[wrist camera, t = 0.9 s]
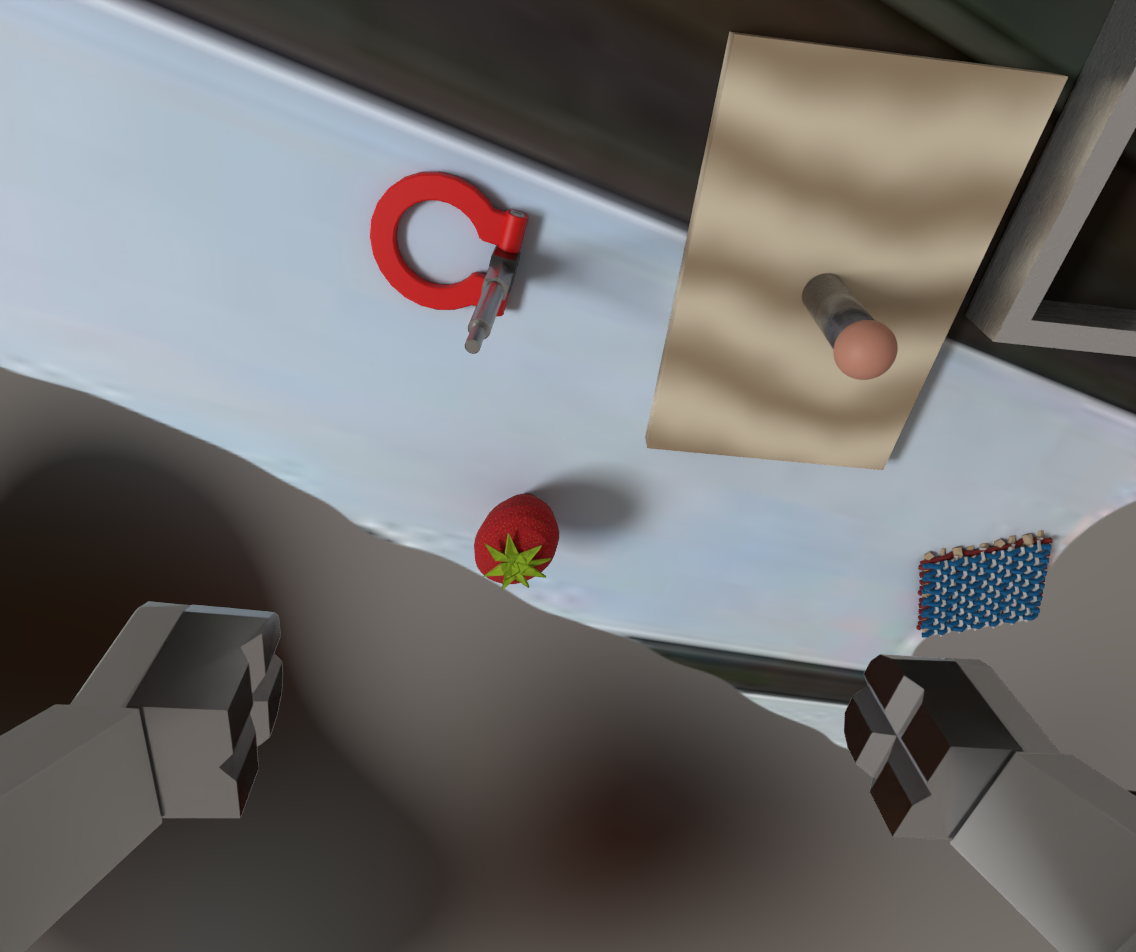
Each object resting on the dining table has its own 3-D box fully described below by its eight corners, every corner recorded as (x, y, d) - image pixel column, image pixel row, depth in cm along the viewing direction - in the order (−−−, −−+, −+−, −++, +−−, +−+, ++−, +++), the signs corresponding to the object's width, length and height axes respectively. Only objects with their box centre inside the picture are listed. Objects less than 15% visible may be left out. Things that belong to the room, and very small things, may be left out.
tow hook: (367, 282, 46) (502, 322, 47) (294, 371, 35) (470, 421, 36) (384, 150, 41) (534, 199, 42) (305, 208, 30) (508, 271, 32)
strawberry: (466, 512, 57) (448, 602, 49) (513, 449, 53) (501, 536, 45) (527, 541, 59) (520, 633, 51) (577, 483, 55) (577, 572, 47)
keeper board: (729, 31, 37) (778, 54, 28) (1052, 72, 38) (1199, 107, 29) (645, 436, 52) (659, 534, 43) (876, 458, 53) (936, 558, 44)
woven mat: (1033, 606, 64) (1045, 623, 62) (913, 626, 66) (921, 643, 64) (1048, 523, 58) (1061, 540, 56) (914, 548, 60) (924, 564, 58)
